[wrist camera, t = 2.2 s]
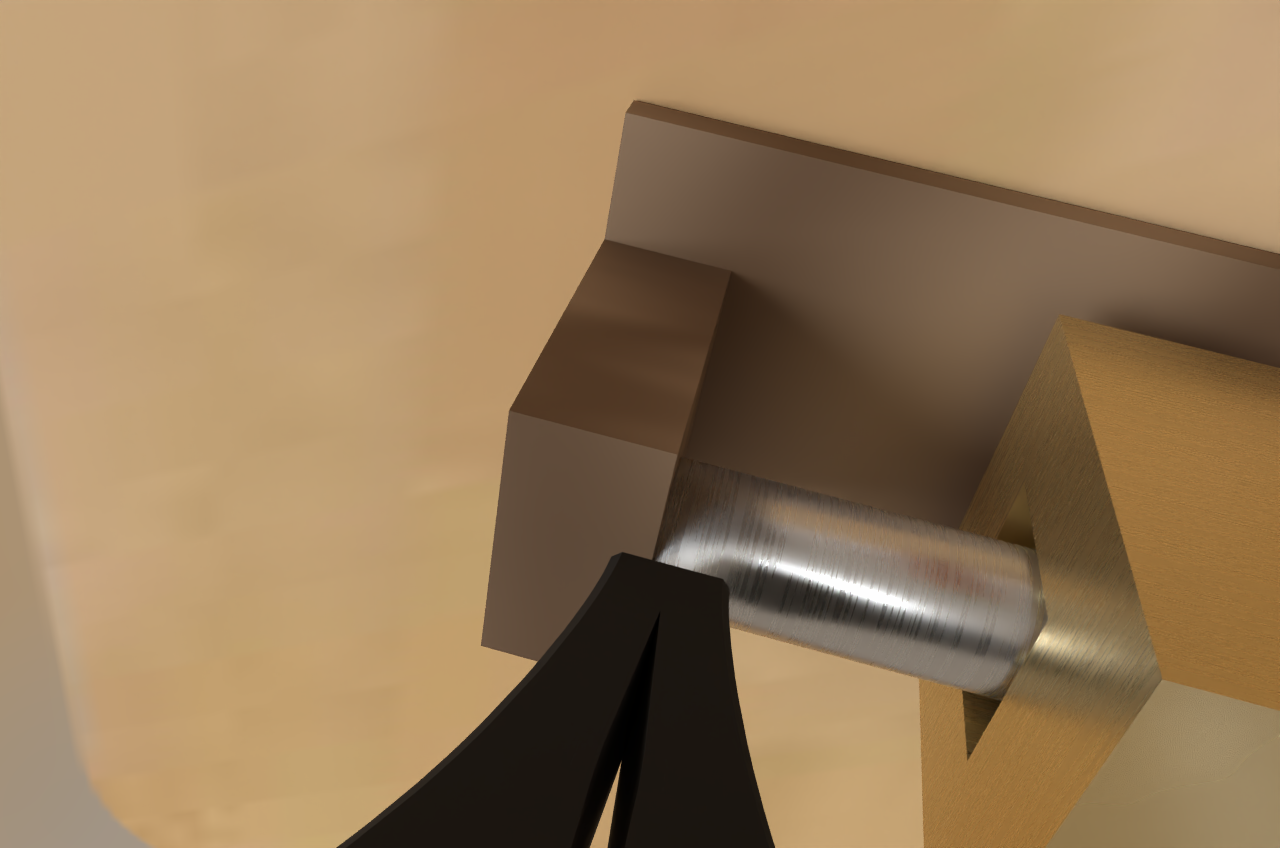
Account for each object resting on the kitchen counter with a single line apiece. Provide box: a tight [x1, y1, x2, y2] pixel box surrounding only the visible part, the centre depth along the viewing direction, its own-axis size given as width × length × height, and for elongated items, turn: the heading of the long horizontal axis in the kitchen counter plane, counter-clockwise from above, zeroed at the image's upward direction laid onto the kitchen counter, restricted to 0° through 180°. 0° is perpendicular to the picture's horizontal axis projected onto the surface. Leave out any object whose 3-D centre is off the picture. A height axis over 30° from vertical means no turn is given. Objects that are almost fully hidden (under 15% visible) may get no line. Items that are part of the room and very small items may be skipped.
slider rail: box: [481, 100, 1280, 661], centre depth 15 cm, size 18×8×6 cm, turn 80°
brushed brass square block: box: [919, 314, 1280, 848], centre depth 13 cm, size 3×6×7 cm, turn 170°
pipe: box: [652, 457, 1048, 701], centre depth 13 cm, size 18×2×2 cm, turn 80°
